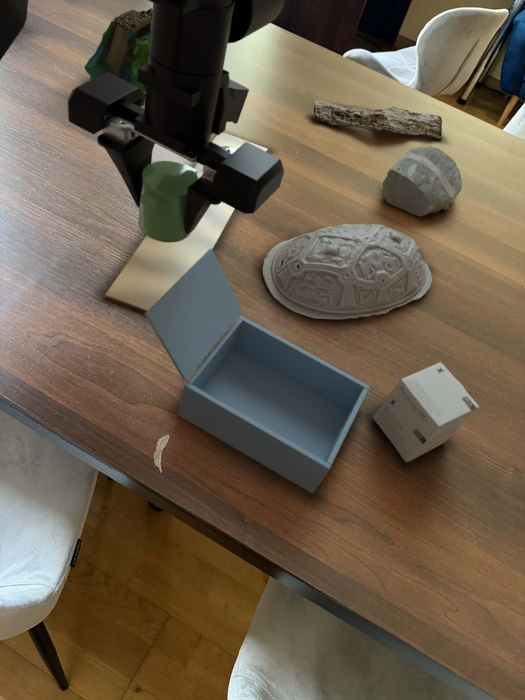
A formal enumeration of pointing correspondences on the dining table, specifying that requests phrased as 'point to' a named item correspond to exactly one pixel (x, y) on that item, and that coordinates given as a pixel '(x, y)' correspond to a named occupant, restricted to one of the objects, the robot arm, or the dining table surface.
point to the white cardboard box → (424, 411)
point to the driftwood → (379, 119)
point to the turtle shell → (346, 271)
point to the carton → (273, 402)
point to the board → (171, 252)
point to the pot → (165, 200)
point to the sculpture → (123, 48)
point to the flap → (194, 313)
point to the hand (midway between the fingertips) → (165, 218)
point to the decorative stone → (423, 181)
